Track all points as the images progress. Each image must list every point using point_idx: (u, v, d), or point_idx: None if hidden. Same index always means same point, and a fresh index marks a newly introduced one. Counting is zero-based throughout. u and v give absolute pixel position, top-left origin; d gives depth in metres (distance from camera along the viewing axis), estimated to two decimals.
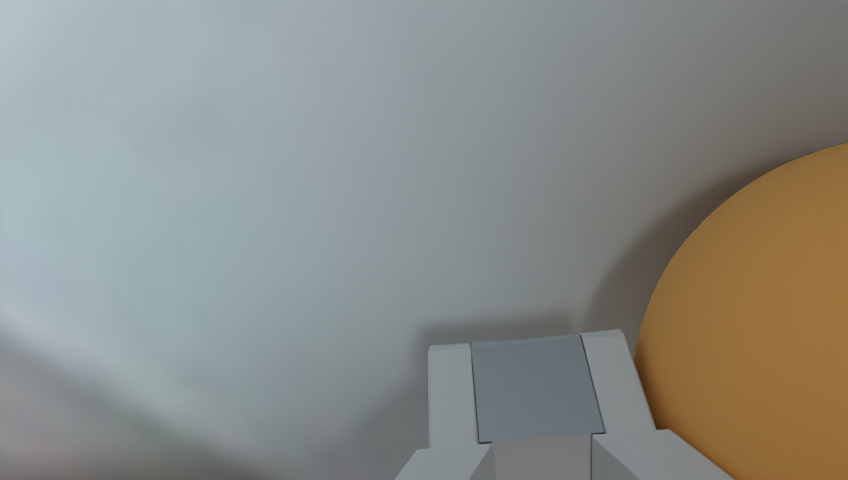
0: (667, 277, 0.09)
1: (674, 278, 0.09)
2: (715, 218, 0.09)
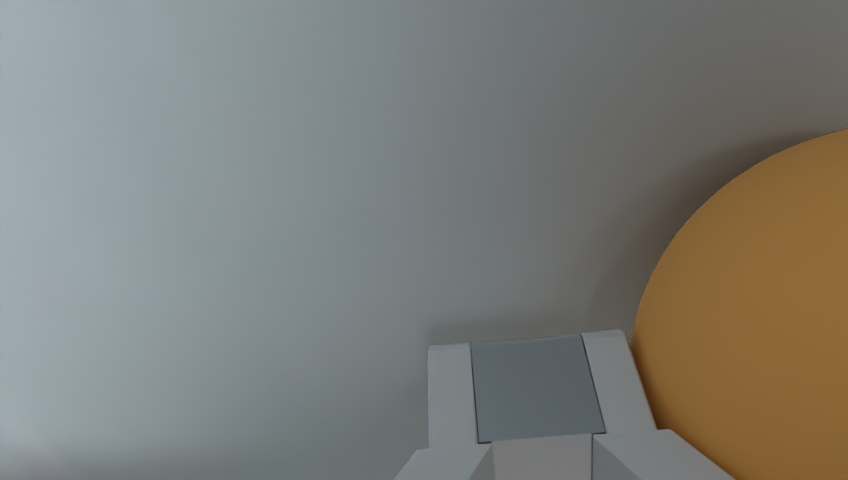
0: (661, 332, 0.08)
1: (675, 333, 0.08)
2: (693, 259, 0.08)
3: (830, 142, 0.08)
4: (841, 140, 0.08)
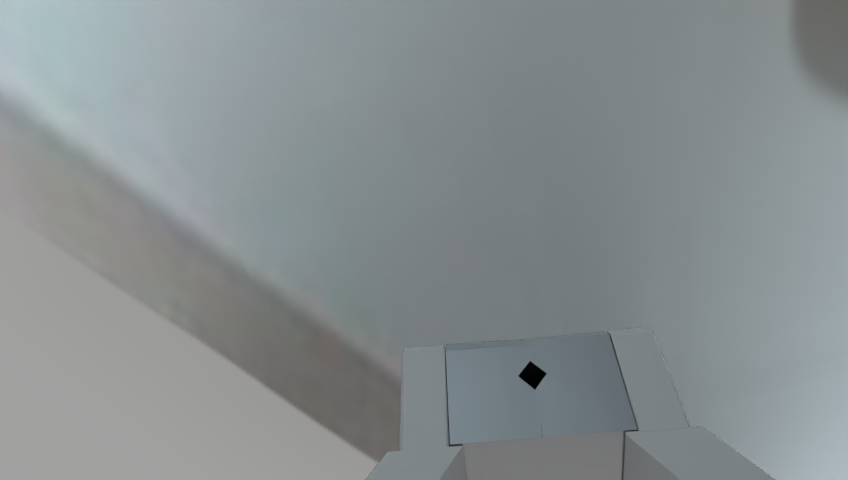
0: None
1: None
2: None
3: None
4: None
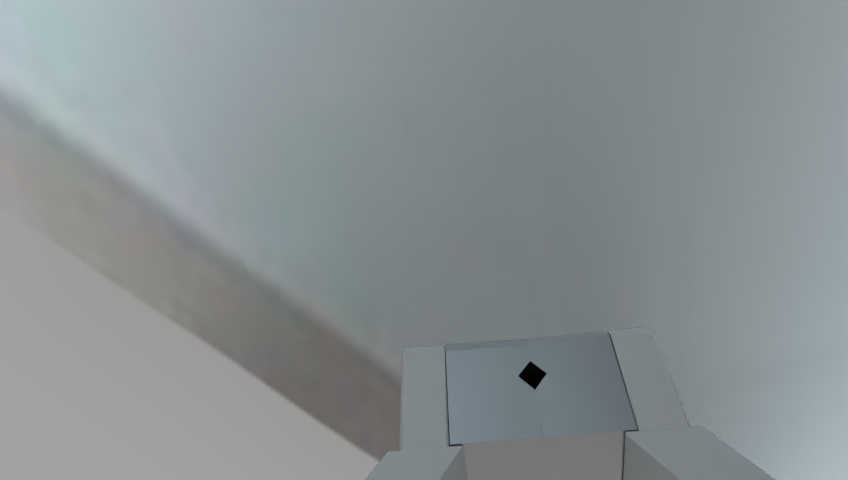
0: None
1: None
2: None
3: None
4: None
